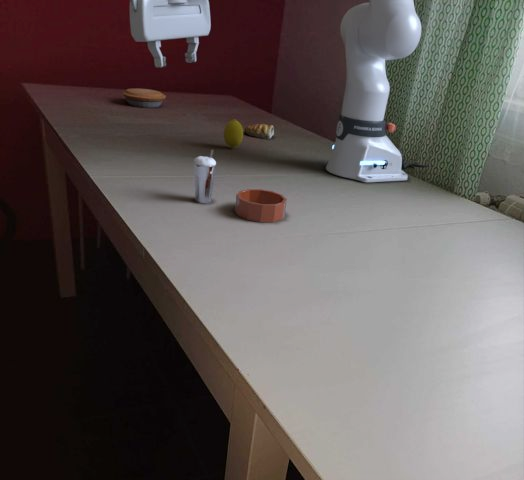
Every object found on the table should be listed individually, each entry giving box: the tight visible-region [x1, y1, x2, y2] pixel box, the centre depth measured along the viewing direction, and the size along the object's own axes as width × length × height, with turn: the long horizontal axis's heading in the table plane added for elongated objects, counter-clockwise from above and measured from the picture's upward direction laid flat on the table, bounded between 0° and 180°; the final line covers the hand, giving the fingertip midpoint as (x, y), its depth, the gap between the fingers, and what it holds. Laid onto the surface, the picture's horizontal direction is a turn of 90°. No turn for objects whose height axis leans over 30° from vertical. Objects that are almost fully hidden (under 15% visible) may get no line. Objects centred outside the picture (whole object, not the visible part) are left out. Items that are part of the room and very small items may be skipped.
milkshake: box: [193, 149, 217, 204], centre depth 112 cm, size 4×5×10 cm
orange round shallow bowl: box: [234, 188, 288, 223], centre depth 110 cm, size 10×10×4 cm
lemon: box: [223, 118, 244, 150], centre depth 154 cm, size 6×6×8 cm
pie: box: [122, 87, 167, 109], centre depth 197 cm, size 15×16×5 cm
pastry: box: [244, 123, 275, 140], centre depth 173 cm, size 9×7×4 cm
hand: (176, 64), depth 110 cm, fingers open, 8 cm apart
